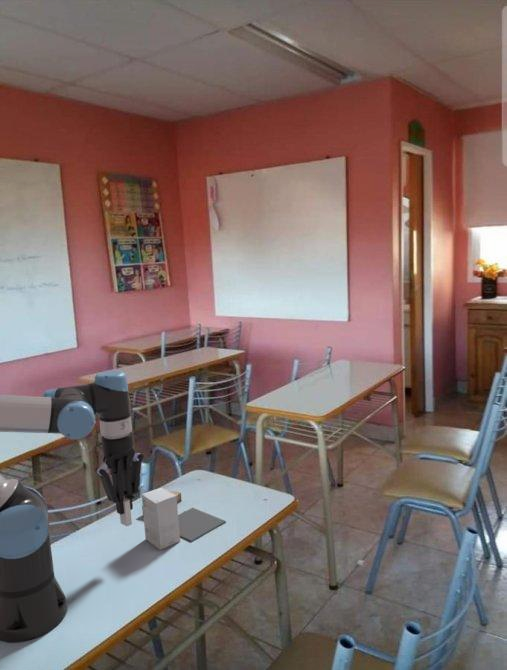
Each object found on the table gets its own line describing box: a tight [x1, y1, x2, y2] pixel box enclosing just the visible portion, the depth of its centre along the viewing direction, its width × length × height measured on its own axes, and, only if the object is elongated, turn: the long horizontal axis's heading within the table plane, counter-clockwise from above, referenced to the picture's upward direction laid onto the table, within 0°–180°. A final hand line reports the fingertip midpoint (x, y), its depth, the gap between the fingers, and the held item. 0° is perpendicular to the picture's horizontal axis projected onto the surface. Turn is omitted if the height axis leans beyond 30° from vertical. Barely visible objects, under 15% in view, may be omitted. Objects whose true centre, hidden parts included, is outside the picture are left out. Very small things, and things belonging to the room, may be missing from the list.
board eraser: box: [141, 489, 182, 511], centre depth 167 cm, size 12×5×3 cm, turn 149°
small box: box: [141, 487, 181, 551], centre depth 147 cm, size 8×6×13 cm
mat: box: [178, 507, 227, 543], centre depth 156 cm, size 13×14×1 cm
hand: (126, 523), depth 139 cm, fingers closed
